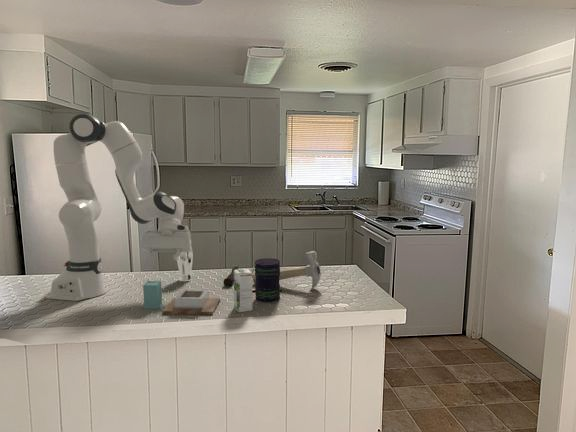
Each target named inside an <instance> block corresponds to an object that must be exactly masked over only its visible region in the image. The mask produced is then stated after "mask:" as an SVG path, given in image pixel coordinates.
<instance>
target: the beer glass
mask: <svg viewBox="0 0 576 432" xmlns="http://www.w3.org/2000/svg"><path fill="white" fill-rule="evenodd" d="M193 257H194V255H193V247H192V246H191V250H190V251H189V252H181V254H180V255H179V257H178V258H177V261H176V263H177V267H178V273H179V275H178V281H179V282H182V283H187V281H188V282H192V281H193V275H192V267H193V260H194V259H193Z"/></svg>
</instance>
